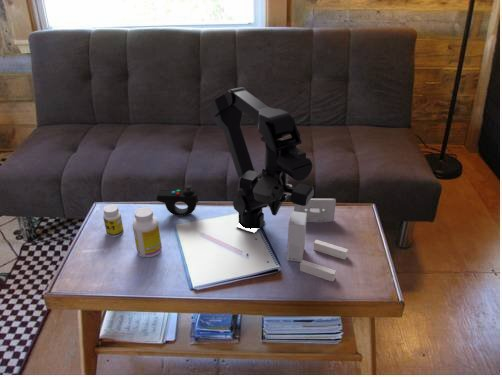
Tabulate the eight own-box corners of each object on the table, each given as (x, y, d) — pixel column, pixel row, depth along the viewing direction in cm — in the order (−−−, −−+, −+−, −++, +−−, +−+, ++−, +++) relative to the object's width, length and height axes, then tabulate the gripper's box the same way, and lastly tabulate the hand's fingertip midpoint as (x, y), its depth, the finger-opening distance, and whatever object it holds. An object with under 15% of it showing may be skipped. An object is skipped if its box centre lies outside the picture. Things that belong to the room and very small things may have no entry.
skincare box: (302, 262, 123) (305, 225, 116) (286, 260, 123) (288, 223, 117) (304, 248, 128) (307, 212, 121) (289, 246, 128) (291, 210, 122)
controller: (198, 218, 140) (196, 190, 135) (157, 218, 140) (154, 190, 135) (200, 210, 144) (198, 182, 138) (160, 210, 144) (156, 182, 138)
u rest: (299, 270, 120) (300, 263, 119) (315, 246, 128) (316, 239, 127) (333, 281, 116) (334, 274, 115) (347, 256, 125) (348, 249, 123)
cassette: (333, 219, 139) (335, 197, 135) (334, 222, 138) (336, 201, 134) (293, 218, 140) (294, 197, 136) (293, 222, 138) (294, 200, 134)
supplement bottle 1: (103, 235, 133) (98, 210, 129) (113, 226, 137) (108, 202, 132) (117, 238, 132) (112, 214, 127) (127, 229, 135) (122, 205, 131)
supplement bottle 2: (166, 246, 128) (161, 208, 122) (152, 261, 123) (146, 221, 117) (146, 240, 131) (140, 202, 124) (132, 254, 126) (125, 215, 119)
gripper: (226, 168, 112) (228, 220, 120) (298, 187, 104) (295, 242, 113) (248, 149, 120) (248, 199, 128) (316, 165, 113) (312, 218, 121)
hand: (274, 214), depth 122 cm, fingers closed
